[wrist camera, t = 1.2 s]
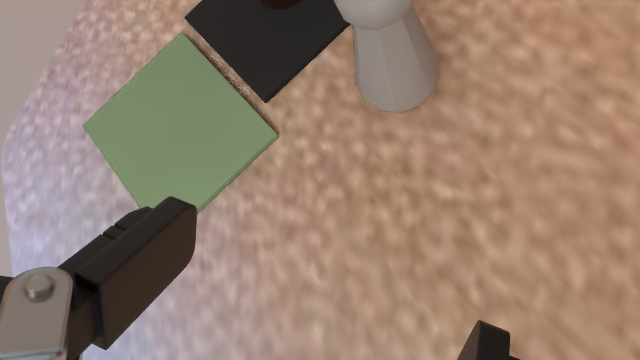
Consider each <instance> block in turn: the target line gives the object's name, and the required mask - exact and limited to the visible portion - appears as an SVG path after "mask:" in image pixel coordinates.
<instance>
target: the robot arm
mask: <svg viewBox="0 0 640 360" xmlns="http://www.w3.org/2000/svg"><path fill="white" fill-rule="evenodd" d="M196 222H197V208H196V206H195V205H193V204H190V203H188V202H185V201H183V200H180V199H178V198H175V197H173V196H169V197H167V198H166V199H164V200H163V201H162V202H161V203H159V204H158V205H157V206H156V207H154V208H151V207H148V206H146V207H143V208H141V209H138V210H135V211H133V212H130V213H128V214H127V215H125V216H124V217H123V218H121V219H120V220H119V221H118V222H116V223H115V225H114V226H111V227H110V228H108V229H107V230H106V231H104V232H103V235H101V234H100V235H99V236H98V237H97V238H95V239H94V240H93V241H91V242H90V243H89V244H87V245H86V246H85V247H83V248H82V249H81V250H80V251H78V252H77V253H76V254H74V255H73V256H72V257H70V258H69V259H68V260H66V261H65V262H64V263H62V264H61V265H60V266H58V267H57V268H55V267H39V268H35V269H31V270H28V271H25V272H23V273H21V274H20V275H18V276H16V277H15V278H13V277H5V276H0V360H82V352H83V351H84V350H85V349H86V348H87V347H88V346H89V345H90V344H91V343H92V344H94V345H96V346H98V347H100V348H102V349H104V350H107V349H108V348H109V347H110V346H111V345H112V344H113V343H114V342H115V341H116V340H117V339H118V338H119V336H120V335H121V334H122V333H123V332H124V331H125V330H126V329H127V328H128V327H129V326H130V325H131V324H132V323H133V322H134V321H135V320H136V319H137V318H138V317H139V316H140V314H141V313H142V312H143V311H144V310H145V309H146V308H147V307H148V306H149V305H150V304H151V303H152V302H153V301H154V300H155V299H156V298H157V297H158V296H159V295H160V294H161V293H162V291H163V290H164V289H165V288H166V287H167V286H168V285H169V284H170V283H171V282H172V281H173V280H174V279H175V278H176V277H177V276H178V275H179V274H180V273H181V272H182V271H183V269H184V268H185V267H186V266H187V265H188V263H189V262H190V260H191V258H192V256H193V253H194V250H195V241H196ZM509 349H510V333H509V332H508V331H506V330H503V329H501V328H498V327H496V326H493V325H491V324H488V323H486V322H483V321H481V320H479V321H478V322H477V323H476V325H475V326H474V328H473V330H472V332H471V334H470V336H469V338H468V340H467V342H466V344H465V345H464V347H463V349H462V351H461V353H460V355H459V357H458V359H457V360H520V359H517V358H515V357H512V356H510V355H509Z"/></svg>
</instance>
